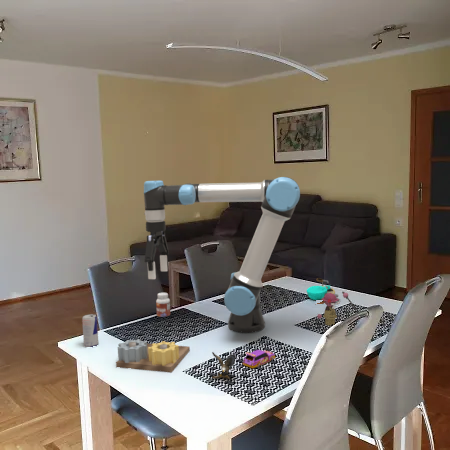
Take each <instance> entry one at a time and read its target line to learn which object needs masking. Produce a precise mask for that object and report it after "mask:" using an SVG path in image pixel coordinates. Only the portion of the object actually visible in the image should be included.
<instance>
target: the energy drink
mask: <svg viewBox="0 0 450 450" xmlns="http://www.w3.org/2000/svg"><path fill="white" fill-rule="evenodd" d="M81 322H82V337H83V347H84V346H85V347H84V348H86V347H92V348H94V347H93V346H96V347H98V346H99V344H100V343H99V330H98V329H99V328H98V327H99V326H98V317H97V315H96V314H93V313H91V314H85V315H83V316H82V318H81ZM97 345H98V346H97Z"/></svg>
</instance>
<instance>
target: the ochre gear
mask: <svg viewBox="0 0 450 450" xmlns="http://www.w3.org/2000/svg"><path fill="white" fill-rule="evenodd" d="M151 344H152V347H148V352H149V361H152V364H153V365H155V364H162V366H163V365H166V364H168V363H175V362H176V359H179V348H178V346H179V344H176V342H175V341H171V342H169V341H167V342H166V341H165V340H163V341H161V342H159V343H158V342H157V343H155V342H153V343H151ZM161 344H167V349H160V345H161Z"/></svg>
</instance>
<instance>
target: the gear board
mask: <svg viewBox="0 0 450 450" xmlns="http://www.w3.org/2000/svg"><path fill="white" fill-rule="evenodd" d="M152 344H153V343H147V352H148V347H152ZM135 346H136V342H130V343H129V347H135ZM178 348H179V359H176V362H175V363H168V364H166V365H163V366H162V364H155V365H153V364H152V361H149V352H148V354H147V358H146V359H141V360H140V362H136V361H134V362H129V363H125V361H123V360H121V361H119V360H117V361H116V362H115V366H116V367H115V368H117V367H120V368H119V369H128V368H131V369H130V370H139V371H140V370H141V371H149V372H150V371H151V372H159V373H160V372H161V373H173V371H174V370H175V369H177V367H178V366H179V365H180V363H181V362H182V361H183V360H184V358H186V356H187V355H188V353H190V350H191V349H190V346H188V345H187V346H186V345H185V346H184V345H178ZM160 349H167V344H161V345H160Z"/></svg>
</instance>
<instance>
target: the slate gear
mask: <svg viewBox="0 0 450 450" xmlns="http://www.w3.org/2000/svg"><path fill="white" fill-rule="evenodd" d="M130 342H136V346H135V347H129V343H130ZM147 344H148V342H147V340H144V341H142V340H141V339H139V338H138V339H134V340H133V339H132V340H131V339H127V340H126V341H125V342H120V343H118V346H117V359H118V360H119V361H121V360H123V361H125V363H129V362H134V361H136V362H140V360H141V359H146V358H147V354H148V352H147ZM118 360H117V361H118Z"/></svg>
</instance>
